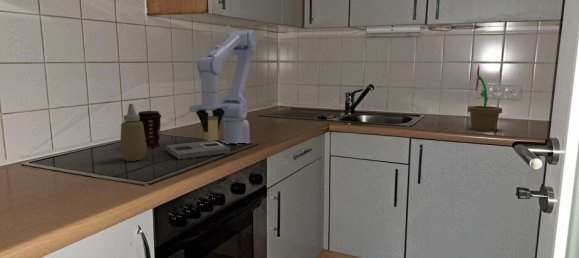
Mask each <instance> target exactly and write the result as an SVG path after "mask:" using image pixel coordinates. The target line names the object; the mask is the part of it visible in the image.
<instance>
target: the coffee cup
mask: <svg viewBox="0 0 579 258" xmlns="http://www.w3.org/2000/svg"><path fill="white" fill-rule="evenodd" d="M137 115H139V116H140V120H138V121H141V122H142V123H143V126H144V133H145V139H146V145H147V149H152V148H151V147H155V148H158V146H159V147H160V139H161V125H162V124H161V118H162V117H163V115H161V113H160V112H159V110H143V111H139V112H138V114H137Z"/></svg>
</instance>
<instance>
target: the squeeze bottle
mask: <svg viewBox="0 0 579 258" xmlns="http://www.w3.org/2000/svg"><path fill="white" fill-rule="evenodd" d="M135 109H136V108H135V107H134V103H129V104H128V108H127V114H125V115H123V120H124V121H123V122H122V123H121V124H120V140H119V141H120V143H119V147H120V148H119V149H120V152H121V154H122V157H123V159H124V161H126V162H137V161H136V160H138V161H142V160H144V158H145V155H146V152H147V149H148V148H147V145H146V139H145V133H144V126H143V123H142V122H141V121H138V120H140V116H139V115H138V114H137V113H136V110H135Z"/></svg>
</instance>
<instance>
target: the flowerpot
mask: <svg viewBox="0 0 579 258" xmlns="http://www.w3.org/2000/svg"><path fill="white" fill-rule="evenodd" d="M475 81H476V84H475V85H476V87H475V91H476V92H478V87H479V81H481V84H482V86H483V90H481V92H480V93H479V95H480V96H481V97H483V98H484V101H483V105H470V106H469V105H468V106H467V112H469V113H470V114H469V116H470V129H471V130H472V131H476V130H477V131H476V132H495V131H496V129H497V124H498V122H499V121H498V120H499V117H500V114H502V113H503V108H502V107H500V106H490V105H489V106H488V105H487V103H488V93H487V86H486V83H485V80H484V78H482V76H481V75H480V64H478V66H477V70H476V80H475Z"/></svg>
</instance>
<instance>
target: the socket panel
mask: <svg viewBox="0 0 579 258" xmlns="http://www.w3.org/2000/svg"><path fill="white" fill-rule="evenodd" d="M166 150H167V151H168V152H169V153H171V154H172V155H174V156H175V157H177V158H178V159H180V158H187V157H193V156H203V155H211V154H221V153H227V152H231V153H232V148H231V147H229V146H228V145H226V144H224V143H221V142H220V141H218V140H213V141H207V140H205V141H197V142H185V143H177V144H176V143H175V144H165V151H166ZM167 151H166V152H167ZM168 152H167V153H168ZM169 153H168V154H169ZM171 154H170V155H171ZM172 155H171V156H172ZM175 157H174V158H175Z"/></svg>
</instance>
